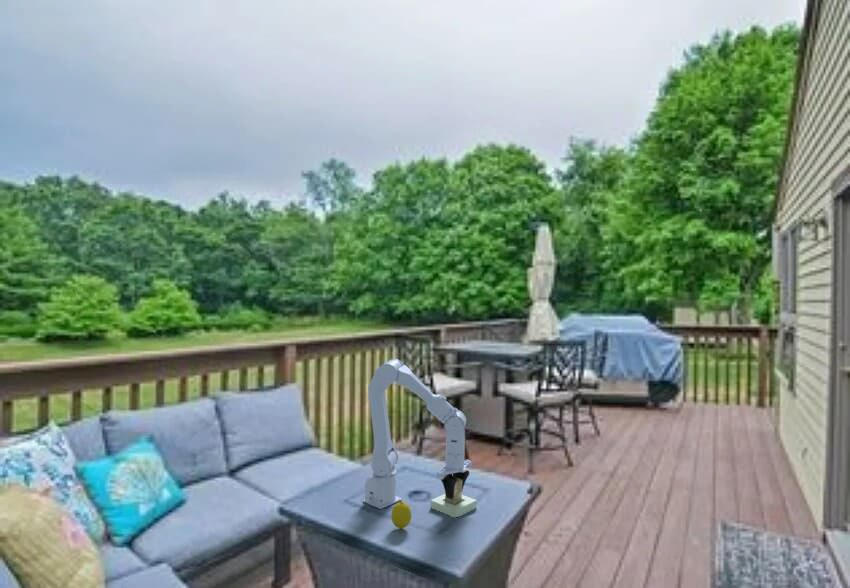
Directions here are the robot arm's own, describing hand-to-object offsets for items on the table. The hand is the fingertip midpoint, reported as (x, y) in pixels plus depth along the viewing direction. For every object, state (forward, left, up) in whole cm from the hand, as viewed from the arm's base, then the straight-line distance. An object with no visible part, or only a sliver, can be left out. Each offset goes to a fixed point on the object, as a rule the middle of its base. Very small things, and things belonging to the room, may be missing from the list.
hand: (453, 495), depth 178 cm
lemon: (-21, +2, -4) cm, 21 cm away
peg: (0, 0, -3) cm, 3 cm away
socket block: (0, 0, -4) cm, 4 cm away
